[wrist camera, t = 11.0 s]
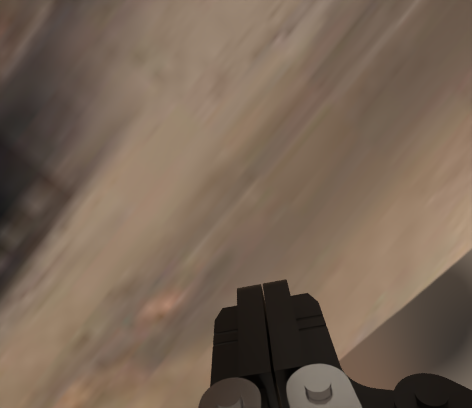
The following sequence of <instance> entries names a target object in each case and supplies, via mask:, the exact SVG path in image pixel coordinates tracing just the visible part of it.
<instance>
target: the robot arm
mask: <svg viewBox="0 0 472 408" xmlns="http://www.w3.org/2000/svg"><path fill="white" fill-rule="evenodd" d="M263 290H264V295H263V291H262V286H261V284H259V285H253V286H248V287H242V288H237V306H232V307H227V308H222V310H221V311H220V313H219V315H218V316H217V318H216V319H215V325H214V340H213V345H214V346H213V354H212V369H211V384H210V388H208V390H207V391H206V392H205V393H204V394H203V396H202V398H201V400H200V403H199V407H198V408H472V390H470V389H468V388H466V387H464V386H462V385H460V384H458V383H456V382H453V381H451V380H449V379H447V378H445V377H442V376H439V375H435V374H427V373H426V374H425V373H421V374H414V375H410V376H408V377H405V378H404V379H402V380H401V381H400V382H399V383H398V384H397V386H396V387H395V389H394V391H392V390H384V389H376V388H370V387H366V386H363V385H361V384H358V383H357V382H355V381H353V380H352V379H350V378H349V377H348V376H347V375H346V374H345V373H344V371H343V370H342V368H341V366H340V363H339V361H338V358H337V355H336V352H335V349H334V346H333V343H332V340H331V337H330V334H329V332H328V329H327V327H326V323H325V320H324V317H323V314H322V311H321V308H320V306H319V303H318V301H316V300H315V299H314V298H313V297H312V296H310V295H309V294H308V293H305V294H299V295H294V296H290V292H289V288H288V283H287V280H281V281H275V282H269V283H264V284H263ZM264 297H265V300H264Z"/></svg>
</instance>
